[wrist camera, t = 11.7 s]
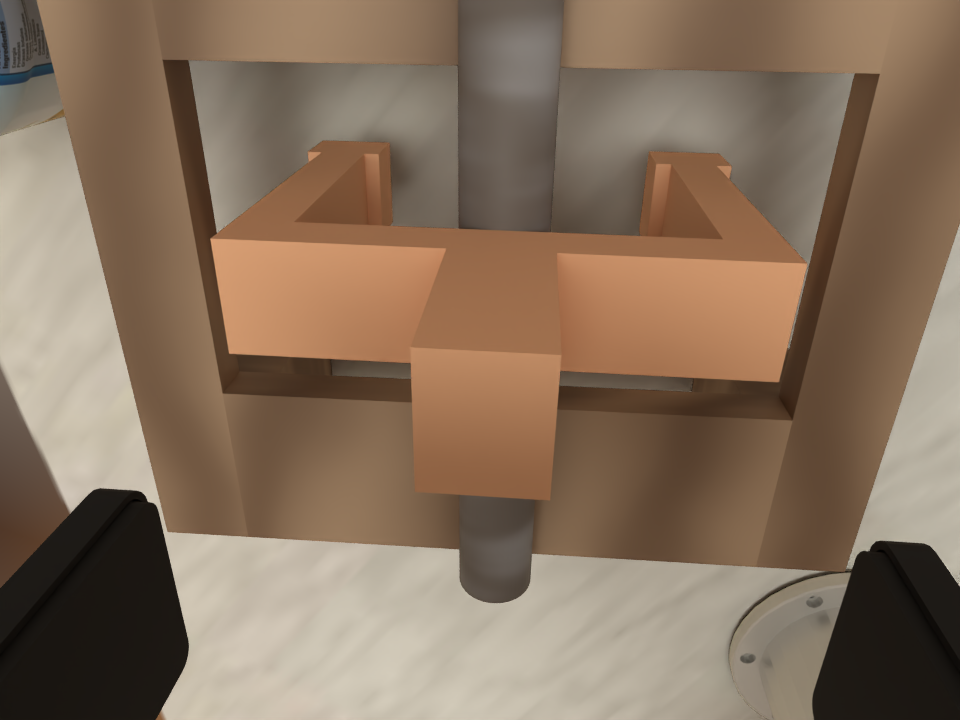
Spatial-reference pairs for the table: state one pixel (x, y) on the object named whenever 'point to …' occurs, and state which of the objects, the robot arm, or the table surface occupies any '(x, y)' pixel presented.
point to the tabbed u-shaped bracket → (506, 303)
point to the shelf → (602, 434)
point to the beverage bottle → (25, 69)
